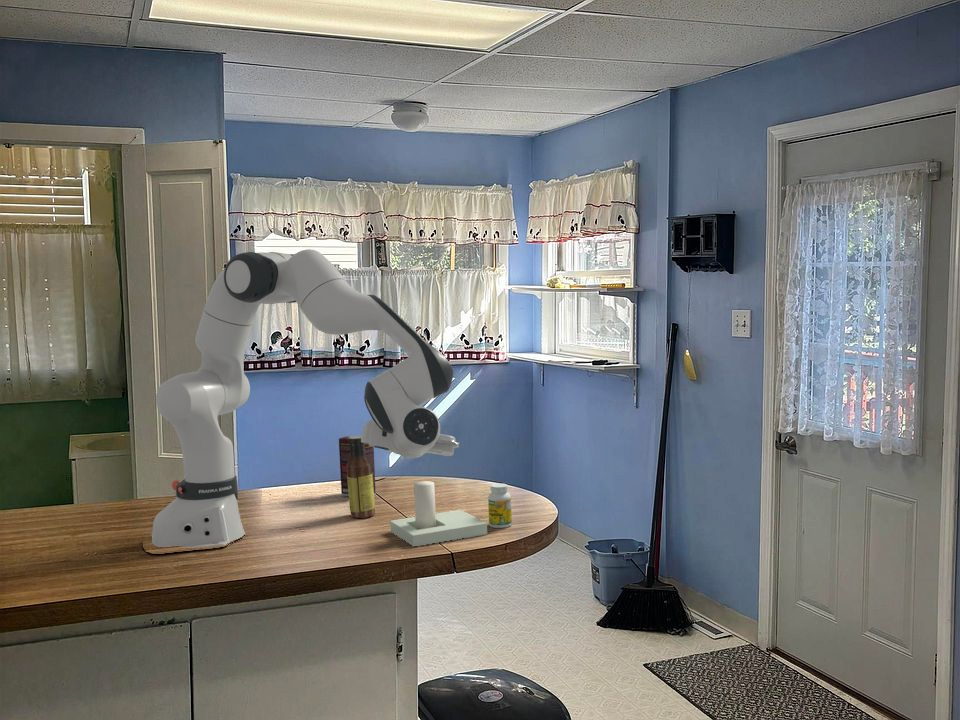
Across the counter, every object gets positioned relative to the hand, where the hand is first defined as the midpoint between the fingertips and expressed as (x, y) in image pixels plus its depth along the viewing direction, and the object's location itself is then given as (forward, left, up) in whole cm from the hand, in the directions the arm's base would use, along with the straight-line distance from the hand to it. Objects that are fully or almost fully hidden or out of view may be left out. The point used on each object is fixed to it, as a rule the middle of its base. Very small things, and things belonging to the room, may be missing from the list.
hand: (405, 444), depth 204 cm
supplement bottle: (+23, -1, -22) cm, 32 cm away
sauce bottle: (-2, +25, -22) cm, 34 cm away
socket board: (+8, +1, -22) cm, 23 cm away
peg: (+5, +1, -22) cm, 22 cm away
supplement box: (+4, +45, -22) cm, 50 cm away
